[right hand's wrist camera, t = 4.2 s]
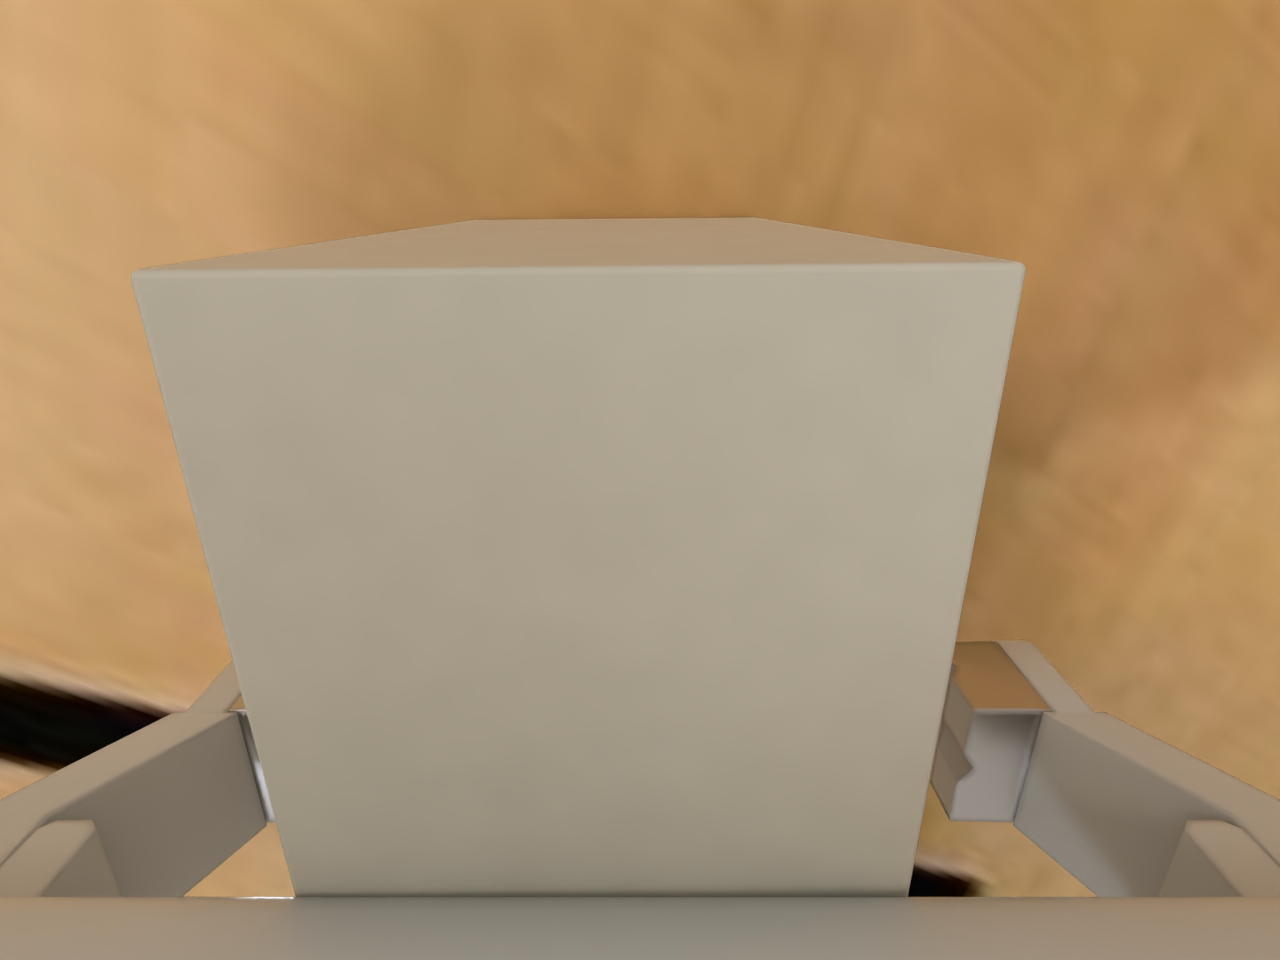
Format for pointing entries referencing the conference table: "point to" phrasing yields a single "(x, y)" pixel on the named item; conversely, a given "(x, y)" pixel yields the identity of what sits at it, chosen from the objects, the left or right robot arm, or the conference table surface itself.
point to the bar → (589, 544)
